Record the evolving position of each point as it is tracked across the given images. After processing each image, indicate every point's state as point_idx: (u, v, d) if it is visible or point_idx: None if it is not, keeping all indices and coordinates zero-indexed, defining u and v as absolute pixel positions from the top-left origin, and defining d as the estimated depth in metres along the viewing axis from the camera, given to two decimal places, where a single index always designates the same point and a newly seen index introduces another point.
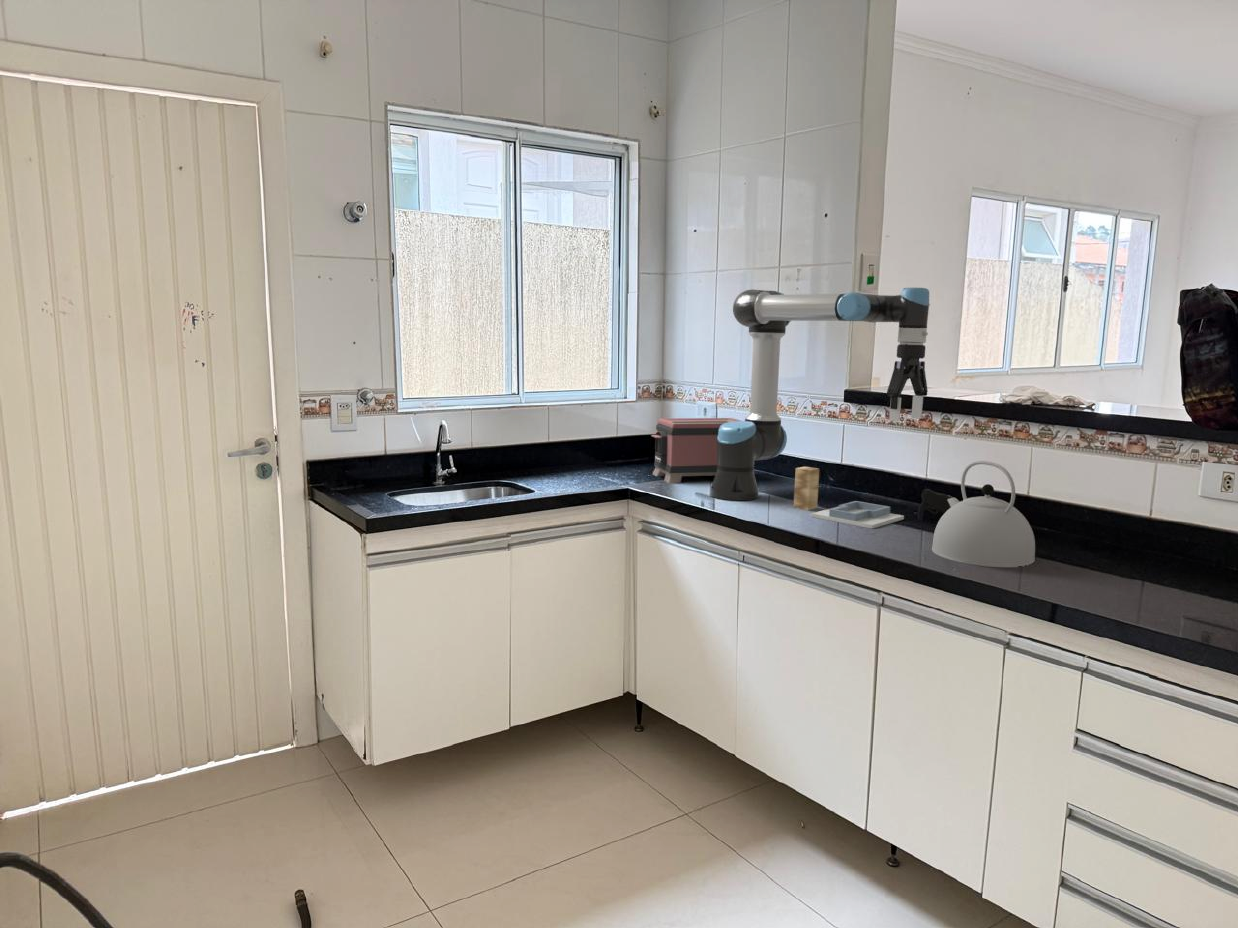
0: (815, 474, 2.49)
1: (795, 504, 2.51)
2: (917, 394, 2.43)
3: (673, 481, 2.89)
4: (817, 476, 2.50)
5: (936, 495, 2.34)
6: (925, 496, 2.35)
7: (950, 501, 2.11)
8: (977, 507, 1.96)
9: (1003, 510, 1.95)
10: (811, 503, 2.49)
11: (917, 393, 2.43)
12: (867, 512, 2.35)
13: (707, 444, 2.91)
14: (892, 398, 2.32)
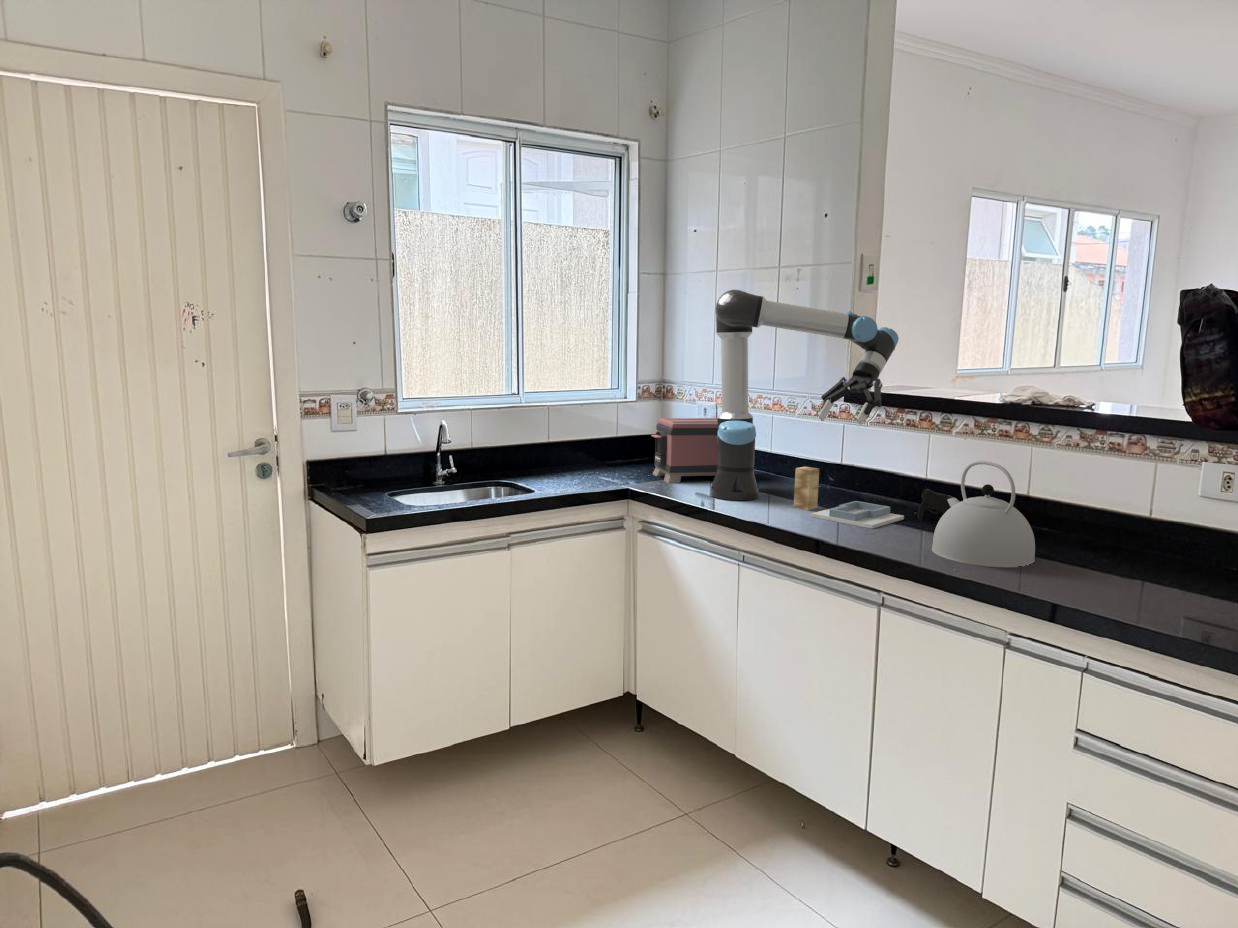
0: (815, 474, 2.49)
1: (795, 504, 2.51)
2: None
3: (673, 481, 2.90)
4: (817, 476, 2.50)
5: (936, 495, 2.34)
6: (925, 496, 2.35)
7: (950, 501, 2.11)
8: (977, 507, 1.96)
9: (1003, 510, 1.95)
10: (811, 503, 2.49)
11: None
12: (867, 512, 2.35)
13: (707, 444, 2.91)
14: (872, 405, 2.54)
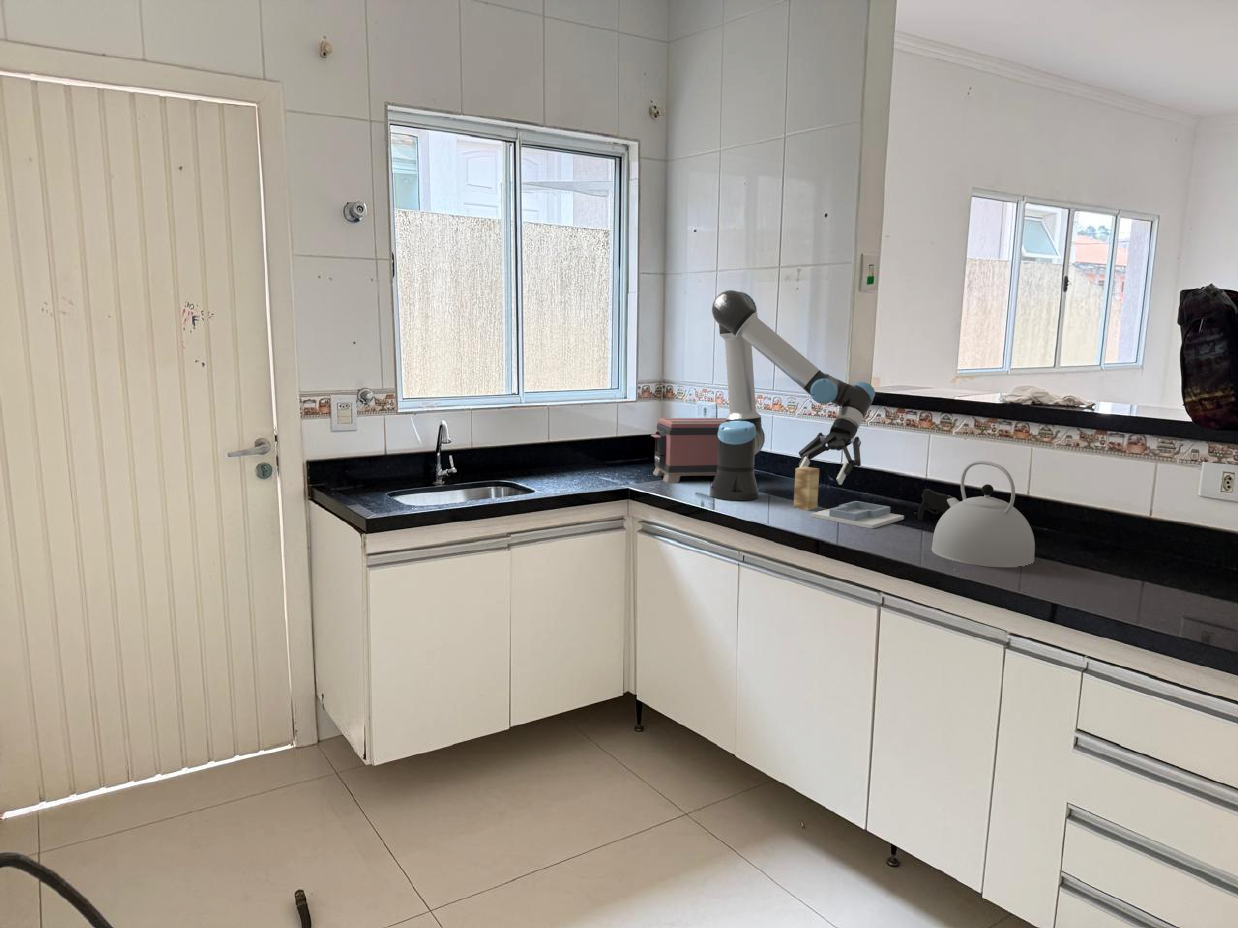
0: (815, 474, 2.49)
1: (795, 504, 2.51)
2: (806, 457, 2.60)
3: (671, 480, 2.90)
4: (817, 476, 2.50)
5: (936, 495, 2.34)
6: (925, 496, 2.35)
7: (950, 501, 2.11)
8: (977, 507, 1.96)
9: (1003, 510, 1.94)
10: (811, 503, 2.49)
11: (807, 456, 2.60)
12: (867, 512, 2.35)
13: (706, 444, 2.92)
14: (851, 465, 2.49)
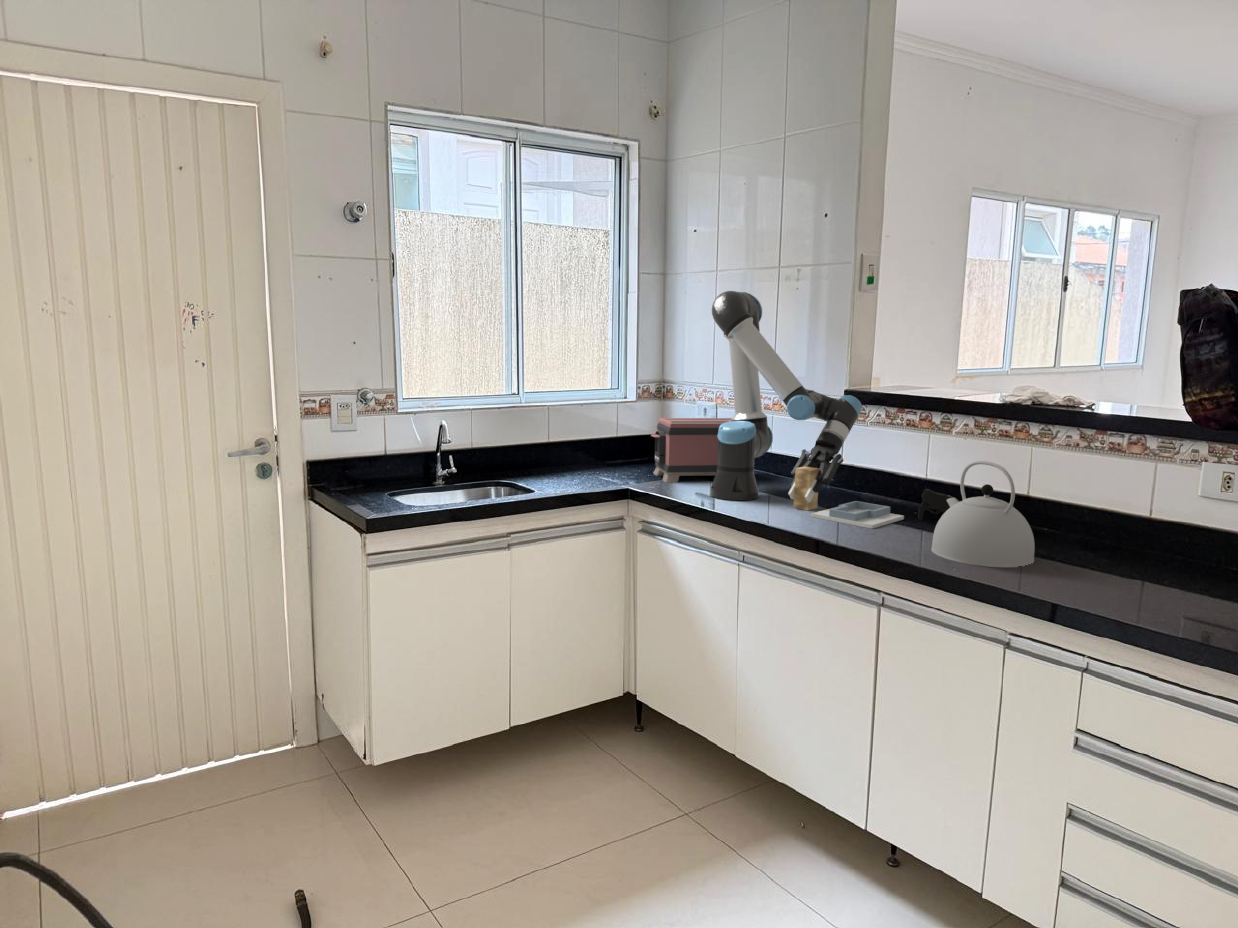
0: (815, 474, 2.49)
1: (795, 504, 2.51)
2: None
3: (670, 480, 2.91)
4: (817, 476, 2.50)
5: (936, 495, 2.34)
6: (925, 496, 2.35)
7: (949, 501, 2.11)
8: (977, 507, 1.96)
9: (1003, 510, 1.94)
10: (811, 502, 2.49)
11: None
12: (867, 512, 2.35)
13: (705, 444, 2.92)
14: (820, 483, 2.48)
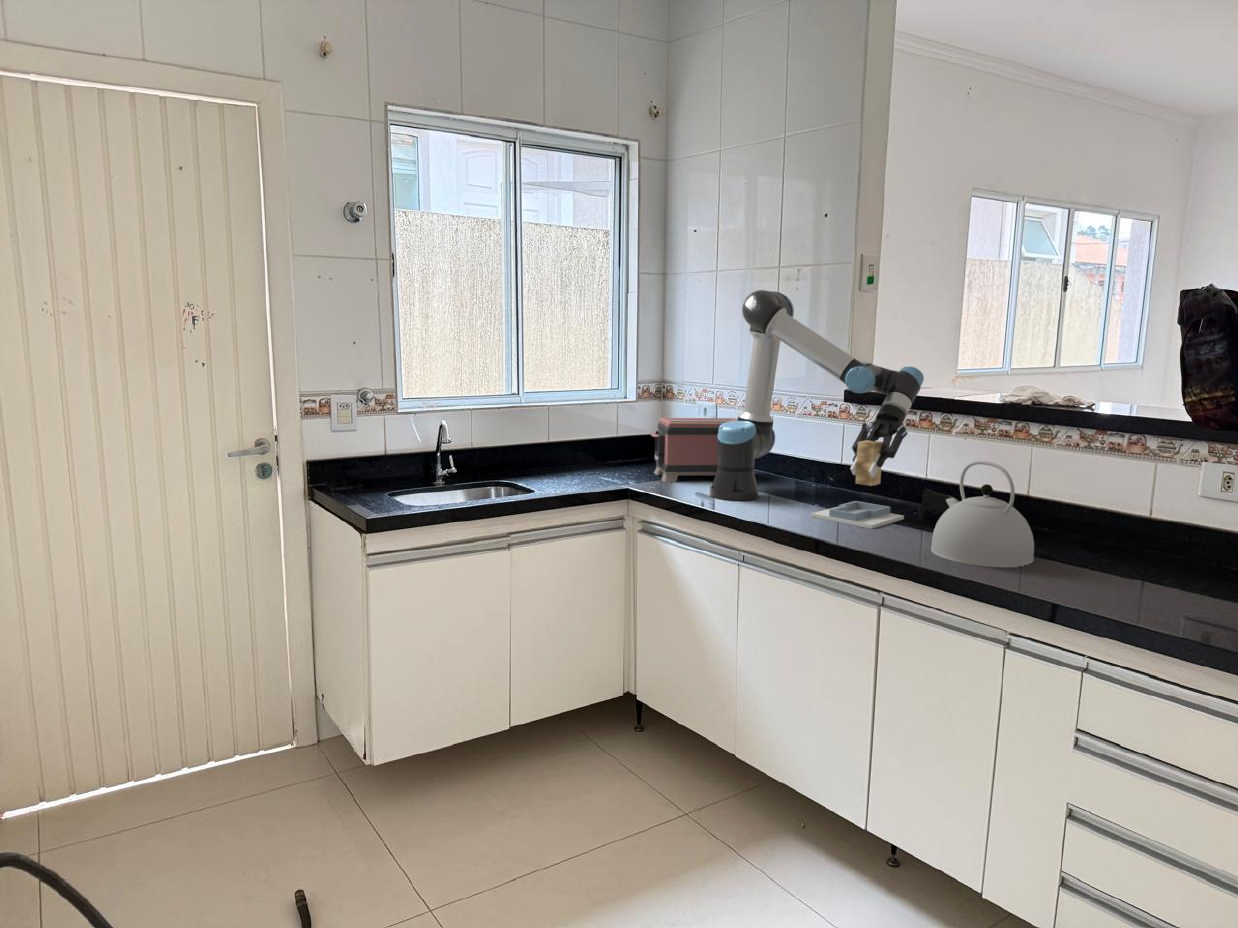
0: (878, 447, 2.37)
1: (857, 479, 2.40)
2: None
3: (669, 480, 2.91)
4: (880, 450, 2.38)
5: (936, 495, 2.34)
6: (925, 496, 2.35)
7: (949, 501, 2.11)
8: (976, 507, 1.96)
9: (1002, 510, 1.94)
10: (874, 478, 2.38)
11: None
12: (867, 512, 2.35)
13: (704, 443, 2.92)
14: (884, 457, 2.37)
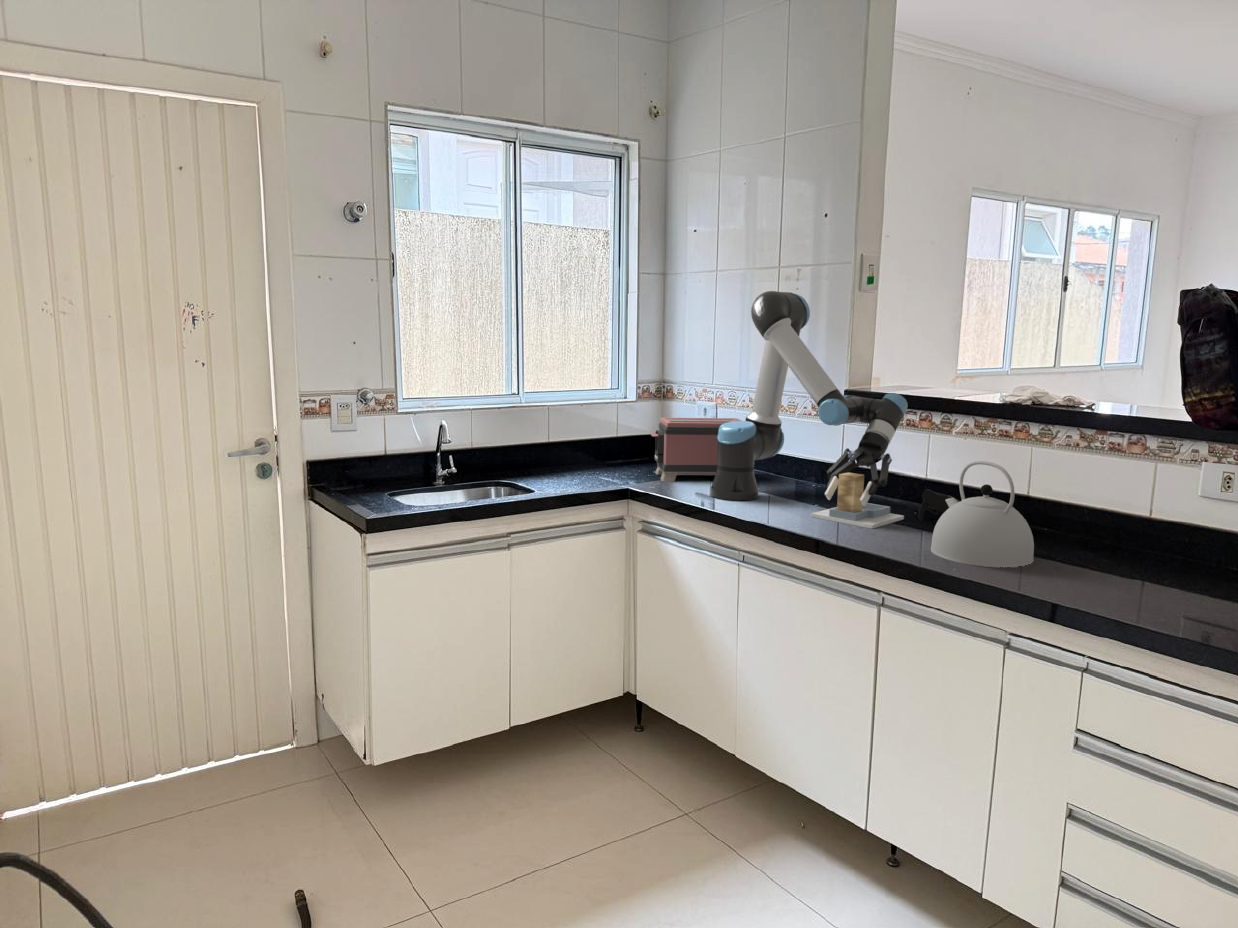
0: (860, 480, 2.33)
1: None
2: None
3: (667, 479, 2.92)
4: (862, 483, 2.34)
5: (937, 495, 2.34)
6: (926, 496, 2.35)
7: (948, 501, 2.11)
8: (976, 507, 1.96)
9: (1002, 510, 1.94)
10: (855, 511, 2.33)
11: None
12: (867, 512, 2.35)
13: (703, 443, 2.92)
14: (876, 485, 2.31)
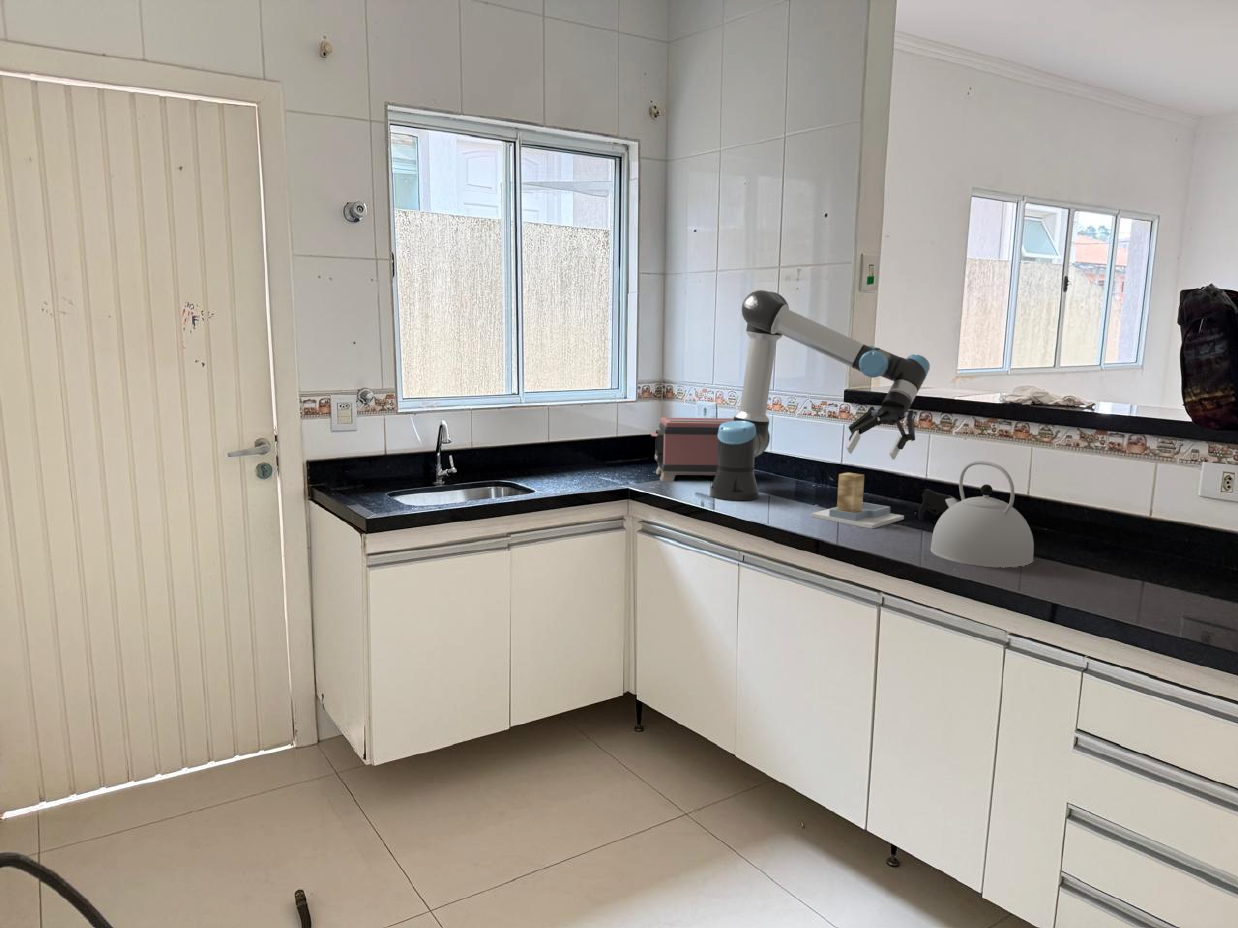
0: (860, 480, 2.33)
1: None
2: None
3: (666, 479, 2.93)
4: (862, 483, 2.34)
5: (937, 495, 2.34)
6: (926, 496, 2.35)
7: (948, 501, 2.11)
8: (976, 507, 1.96)
9: (1002, 510, 1.94)
10: (855, 511, 2.33)
11: (857, 431, 2.50)
12: (867, 512, 2.35)
13: (702, 443, 2.92)
14: (905, 439, 2.38)
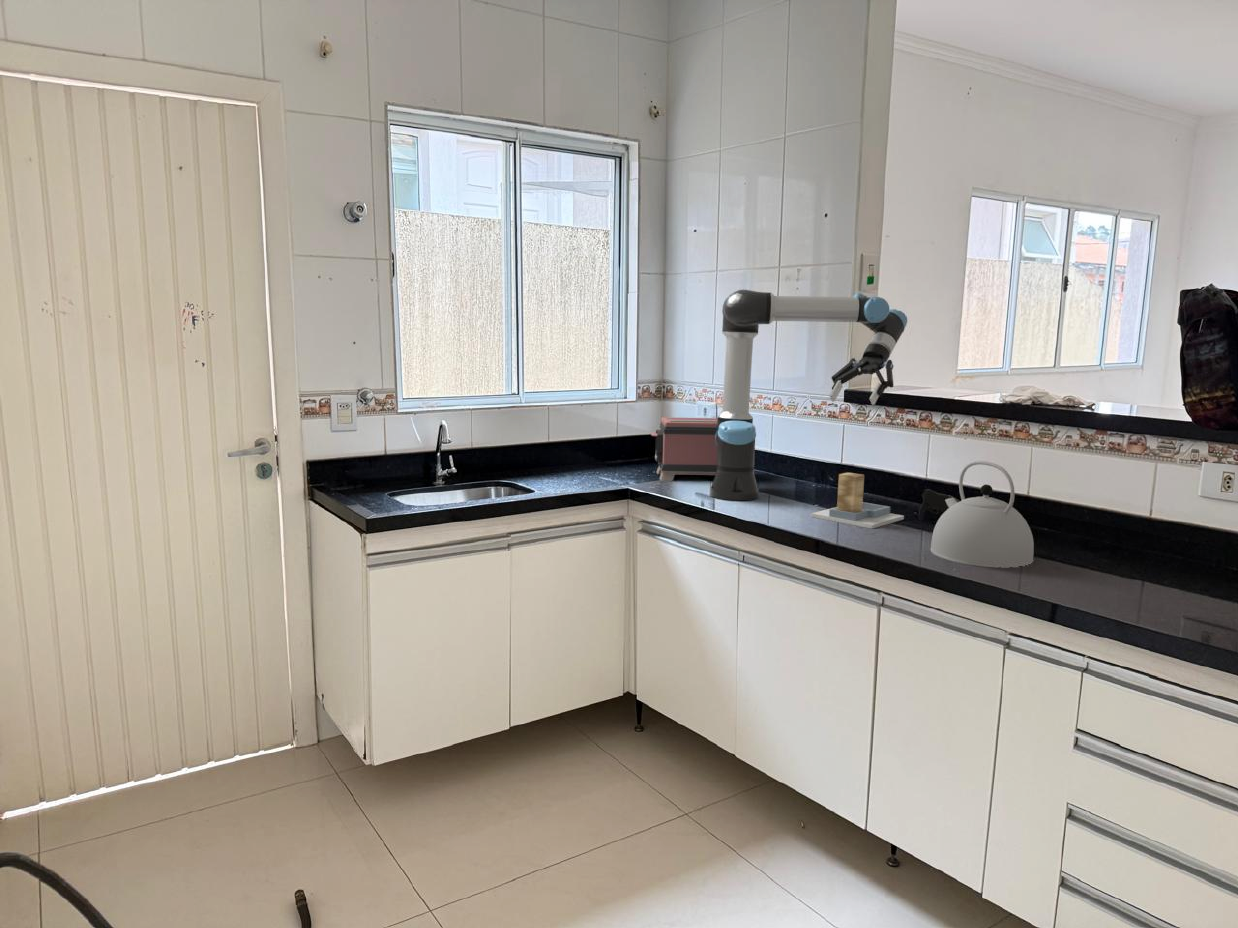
0: (860, 480, 2.33)
1: None
2: None
3: (665, 479, 2.93)
4: (862, 483, 2.34)
5: (937, 495, 2.34)
6: (926, 496, 2.35)
7: (948, 501, 2.11)
8: (976, 507, 1.96)
9: (1002, 510, 1.94)
10: (855, 511, 2.33)
11: (839, 381, 2.65)
12: (867, 512, 2.35)
13: (701, 443, 2.93)
14: (884, 386, 2.54)
